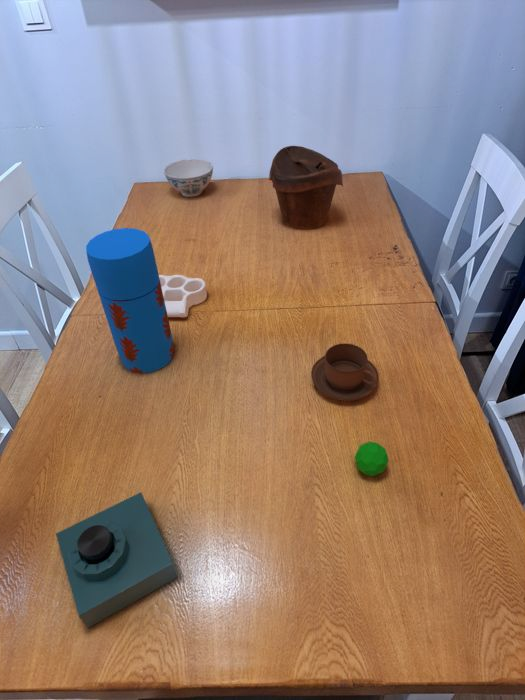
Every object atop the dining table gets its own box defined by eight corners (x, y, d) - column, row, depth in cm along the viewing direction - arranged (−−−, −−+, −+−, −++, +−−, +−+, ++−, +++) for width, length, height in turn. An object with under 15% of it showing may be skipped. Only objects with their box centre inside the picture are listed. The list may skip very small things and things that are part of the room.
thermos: (111, 369, 95) (72, 256, 78) (134, 334, 102) (103, 225, 86) (163, 377, 92) (134, 263, 76) (183, 340, 100) (161, 230, 84)
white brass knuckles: (119, 321, 106) (135, 283, 117) (201, 321, 105) (210, 282, 116) (115, 309, 104) (132, 271, 115) (199, 308, 103) (208, 270, 113)
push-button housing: (88, 628, 60) (73, 609, 56) (65, 547, 68) (50, 525, 64) (178, 577, 64) (170, 555, 60) (146, 506, 72) (138, 483, 68)
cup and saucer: (382, 367, 92) (386, 342, 88) (370, 413, 84) (374, 388, 79) (320, 354, 95) (321, 329, 91) (303, 397, 87) (303, 372, 83)
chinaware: (207, 204, 148) (203, 179, 143) (160, 201, 151) (156, 176, 146) (221, 183, 159) (219, 160, 154) (178, 181, 162) (174, 158, 157)
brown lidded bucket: (334, 238, 129) (338, 171, 117) (262, 230, 134) (259, 165, 122) (346, 209, 141) (351, 145, 129) (280, 202, 146) (279, 140, 135)
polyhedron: (392, 468, 75) (397, 449, 72) (373, 487, 73) (376, 469, 70) (366, 449, 78) (369, 430, 75) (346, 467, 76) (349, 448, 72)
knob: (86, 569, 60) (81, 562, 58) (78, 542, 62) (73, 535, 61) (118, 553, 61) (114, 545, 60) (108, 527, 64) (104, 519, 62)
